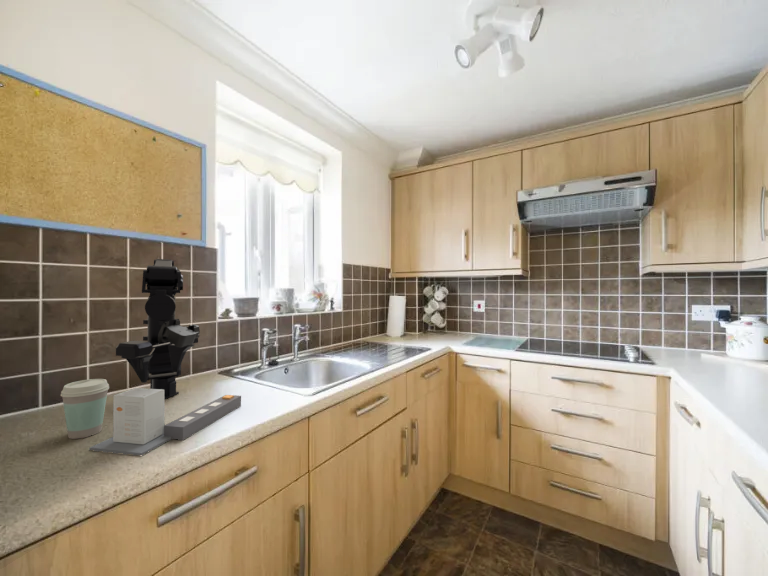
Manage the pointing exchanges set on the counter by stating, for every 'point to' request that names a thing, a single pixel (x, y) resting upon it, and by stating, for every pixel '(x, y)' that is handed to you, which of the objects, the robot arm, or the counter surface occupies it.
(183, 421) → the power strip
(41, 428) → the counter surface
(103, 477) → the counter surface
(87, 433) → the coffee cup
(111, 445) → the rubber mat
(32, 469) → the counter surface
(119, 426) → the small box
